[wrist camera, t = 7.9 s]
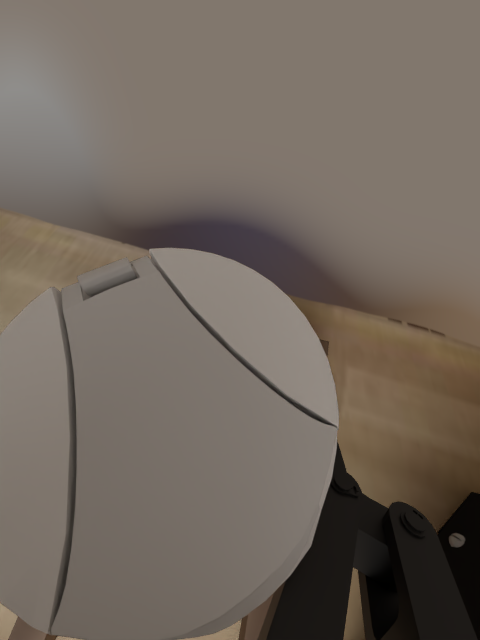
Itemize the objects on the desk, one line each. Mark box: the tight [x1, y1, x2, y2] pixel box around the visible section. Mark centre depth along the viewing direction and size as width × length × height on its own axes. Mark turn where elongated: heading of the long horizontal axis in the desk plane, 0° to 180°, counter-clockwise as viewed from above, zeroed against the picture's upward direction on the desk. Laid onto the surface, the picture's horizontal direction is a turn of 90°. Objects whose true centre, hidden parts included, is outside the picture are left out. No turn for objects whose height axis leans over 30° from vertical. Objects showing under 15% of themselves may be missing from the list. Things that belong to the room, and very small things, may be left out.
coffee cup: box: [0, 248, 339, 640], centre depth 12 cm, size 8×8×15 cm
